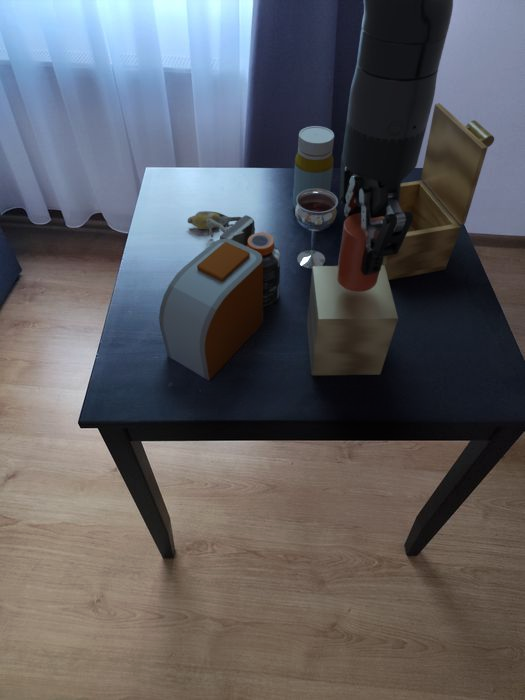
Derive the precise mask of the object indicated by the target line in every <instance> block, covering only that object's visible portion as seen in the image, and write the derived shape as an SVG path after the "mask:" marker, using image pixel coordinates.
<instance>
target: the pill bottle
mask: <svg viewBox="0 0 525 700" xmlns="http://www.w3.org/2000/svg"><path fill="white" fill-rule="evenodd" d="M247 243H248V245H247V247H249V248H251V249H253V250H256V251H257V252H259V253H260V254H261V255H262V258H263V307H268V306H270V305H273V304H274V303H276V302H277V300H278V299H279V297H280V285H281V284H280V283H281V282H280V281H281V277H280V276H281V253H280V251H279V248H278V247H276V246H275V239H274V237H273V236H272V235H271V234H269V233H266V232H255V233H254V234H253V235H251V236H250V237H249V238H248V241H247Z"/></svg>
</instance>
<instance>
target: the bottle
mask: <svg viewBox="0 0 525 700" xmlns="http://www.w3.org/2000/svg"><path fill="white" fill-rule="evenodd" d="M297 141H298V142H297V146H298V147H297V152H296V155H295V159H294V171H293V172H294V173H293V192H292V208H293V210H294V211H295V208H296V205H297V202H296V198H297V196H298V194H300V193H301V192H302V191H305V190H308V189H323V190H327V191H329V192H331V187H332V180H333V179H332V178H333V172H334V156H333V150H334V141H335V133H334V132H333V130H331V129H330V128H328V127H325V126H319V125H310V126H306V127H304V128H302V129H301V130H299V133H298V140H297Z"/></svg>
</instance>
